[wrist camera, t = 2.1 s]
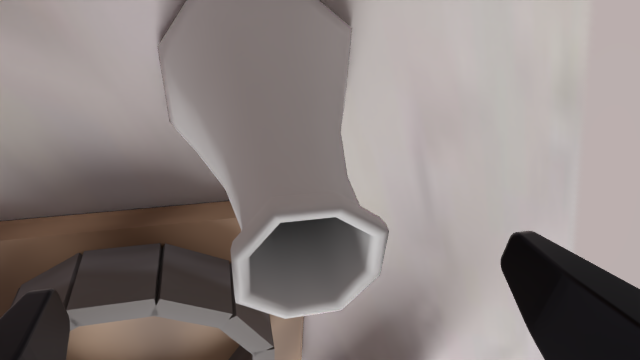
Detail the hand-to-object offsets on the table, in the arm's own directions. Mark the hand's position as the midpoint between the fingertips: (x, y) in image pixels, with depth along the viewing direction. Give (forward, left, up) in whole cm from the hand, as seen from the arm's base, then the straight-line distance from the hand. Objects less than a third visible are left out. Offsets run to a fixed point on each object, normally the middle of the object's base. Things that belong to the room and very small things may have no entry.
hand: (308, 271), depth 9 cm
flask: (0, 0, -10) cm, 10 cm away
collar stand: (-6, -13, -10) cm, 17 cm away
